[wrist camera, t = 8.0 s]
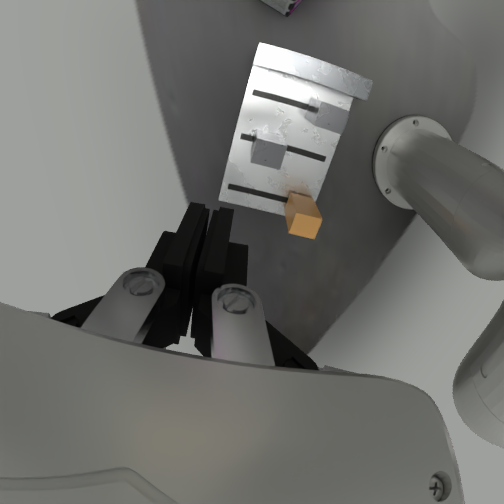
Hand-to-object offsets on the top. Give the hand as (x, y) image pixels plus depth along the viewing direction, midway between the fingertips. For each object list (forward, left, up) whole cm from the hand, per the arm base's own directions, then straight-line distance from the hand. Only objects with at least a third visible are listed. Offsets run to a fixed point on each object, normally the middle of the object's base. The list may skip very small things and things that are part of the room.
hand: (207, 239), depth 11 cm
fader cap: (-9, +6, -21) cm, 24 cm away
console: (-5, -1, -24) cm, 24 cm away
